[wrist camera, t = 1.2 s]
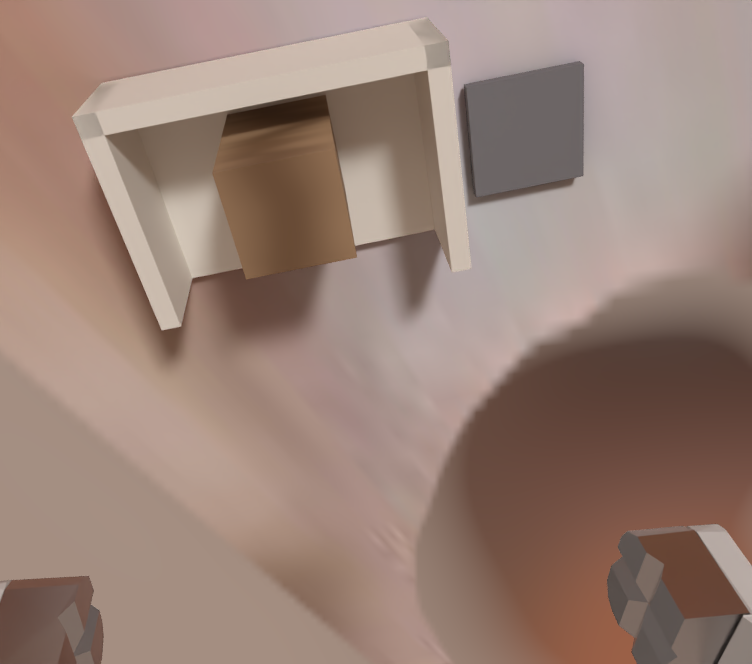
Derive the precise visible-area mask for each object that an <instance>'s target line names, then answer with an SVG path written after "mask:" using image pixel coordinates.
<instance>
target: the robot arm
mask: <svg viewBox="0 0 752 664" xmlns="http://www.w3.org/2000/svg"><path fill="white" fill-rule="evenodd" d="M618 549H619V551H620V553H621V554H622V557H621V558H620V559H619V560H618V561H616V562H615V563H614V564H613V565H612V566H611V569H610V572H609V576H608V579H607V584H608V598H609V601H610V605H611V608H612V612H613V614H614V616H615V618H616V620H617V623H618V625H619V626H620V627H621V628H623V629H624V630H625V631H626V632H628V633H629V634H630V635H632V636H633V637H634V642H633V648H632V654H633V656H634V658H635V660H636V662H637V664H752V566H751V564H750V563H749V562H748V560H747V559H746V557H745V556H744V554H743V553H742V552H741V550H740V549H739V548H738V546H737V545H736V543H735V542H734V541H733V539H732V538H731V536H730V535H729V534H728V532H727V531H726V530H725V529H724V528H723V527H721V526H720V525H718V524H709V525H698V526H687V527H684V526H678V527H667V528H656V529H646V530H635V531H627V532H626V533H625V534H624V535H623V536H622V537H621V539H620V542H619V545H618ZM93 592H94V590H93V587H92V584H91V581H90V578H89V576H79V577H62V578H61V577H60V578H44V579H43V578H42V579H26V580H25V579H24V580H7V581H0V664H101V660H102V651H103V625H102V619H101V615H100V611H99V610H98V609H96V608H95V607H93V606H92V605H91V601H92V596H93Z"/></svg>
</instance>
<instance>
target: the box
mask: <svg viewBox="0 0 752 664" xmlns="http://www.w3.org/2000/svg"><path fill="white" fill-rule="evenodd" d="M322 95H326V99H327V103H328V108H329V113H330V118H331V123H332V128H333V133H334V137H335V142H336V147H337V152H338V157H339V162H340V167H341V171H342V176H343V181H344V186H345V191H346V197H347V203H348V209H349V214H350V220H351V226H352V232H353V237H354V243H355V246H356V245H361V244H366V243H371V242H376V241H381V240H386V239H391V238H396V237H401V236H406V235H411V234H416V233H421V232H426V231H431V230H435V232H436V234H437V237H438V239H439V241H440V244H441V246H442V249H443V251H444V254H445V256H446V259H447V261H448V264H449V266H450V269H451V271H452V272H457V271H462V270H467V269H471V260H470V250H469V240H468V230H467V220H466V210H465V201H464V191H463V181H462V171H461V161H460V151H459V142H458V132H457V122H456V112H455V102H454V92H453V82H452V73H451V63H450V53H449V43H448V40H447V39H446V38H445V37H444V36H443V35H442V33H441V32H440V31H439V30H438V29H437V28H436V27H435V26H434V25H433V24H432V23H431V22H430V20H429V19H428V18H427V17H425V18H420V19H415V20H410V21H405V22H400V23H396V24H391V25H386V26H381V27H376V28H371V29H366V30H361V31H356V32H351V33H346V34H341V35H336V36H331V37H326V38H321V39H317V40H312V41H307V42H302V43H297V44H292V45H287V46H282V47H277V48H272V49H267V50H262V51H257V52H252V53H247V54H242V55H238V56H233V57H228V58H223V59H218V60H213V61H208V62H203V63H198V64H193V65H188V66H183V67H178V68H173V69H168V70H163V71H159V72H154V73H149V74H144V75H139V76H134V77H129V78H124V79H119V80H114V81H109V82H104V83H101V84H100V85H99V87H98V88H97V89H96V90H95V91H94V92H93V93H92V95H91V96H90V97H89V98H88V99H87V100H86V101H85V102H84V104H83V105H82V106H81V107H80V108H79V109H78V110H77V112H76V113H75V114H74V115H73V116H72V118H73V121H74V123H75V125H76V128H77V130H78V133H79V135H80V137H81V140H82V142H83V144H84V147H85V149H86V152H87V154H88V156H89V159H90V161H91V163H92V166H93V168H94V171H95V173H96V175H97V178H98V180H99V182H100V185H101V187H102V190H103V192H104V194H105V197H106V199H107V202H108V204H109V206H110V209H111V211H112V213H113V216H114V218H115V221H116V223H117V225H118V228H119V230H120V232H121V235H122V237H123V240H124V242H125V244H126V247H127V249H128V251H129V254H130V256H131V259H132V261H133V263H134V266H135V268H136V270H137V273H138V275H139V278H140V280H141V282H142V285H143V287H144V289H145V292H146V294H147V297H148V299H149V301H150V304H151V306H152V308H153V311H154V313H155V316H156V318H157V320H158V323H159V325H160V327H161V330H166V329H171V328H176V327H181V325H182V320H183V316H184V312H185V308H186V303H187V299H188V295H189V291H190V287H191V282H192V278H196V277H201V276H206V275H211V274H216V273H221V272H226V271H231V270H236V269H241V268H242V265H241V262H240V259H239V256H238V253H237V250H236V246H235V243H234V240H233V237H232V234H231V231H230V228H229V224H228V221H227V218H226V215H225V212H224V209H223V206H222V203H221V199H220V196H219V193H218V190H217V187H216V184H215V181H214V177H213V174H212V172H213V168H214V164H215V160H216V156H217V152H218V149H219V145H220V141H221V137H222V133H223V129H224V125H225V121H226V117H227V115H228V114H233V113H238V112H243V111H248V110H253V109H258V108H263V107H267V106H272V105H277V104H282V103H287V102H292V101H297V100H302V99H307V98H312V97H317V96H322Z"/></svg>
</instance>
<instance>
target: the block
mask: <svg viewBox="0 0 752 664" xmlns="http://www.w3.org/2000/svg"><path fill="white" fill-rule="evenodd" d="M212 174H213V177H214V181H215V184H216V187H217V190H218V193H219V196H220V199H221V203H222V206H223V209H224V212H225V215H226V218H227V221H228V224H229V228H230V231H231V234H232V237H233V240H234V243H235V246H236V250H237V253H238V256H239V259H240V262H241V265H242V268H243V271H244V275H245V278H246V279H251V278H256V277H261V276H266V275H271V274H276V273H281V272H286V271H291V270H296V269H301V268H306V267H311V266H316V265H321V264H326V263H331V262H336V261H341V260H346V259H351V258H356V257H357V255H356V249H355V243H354V237H353V232H352V226H351V220H350V214H349V209H348V203H347V197H346V191H345V186H344V181H343V176H342V171H341V167H340V162H339V157H338V152H337V147H336V142H335V137H334V133H333V128H332V123H331V118H330V113H329V108H328V103H327V99H326V95H322V96H317V97H312V98H307V99H302V100H297V101H292V102H287V103H282V104H277V105H272V106H267V107H263V108H258V109H253V110H248V111H243V112H238V113H233V114H228V115H227V117H226V121H225V125H224V129H223V133H222V137H221V141H220V145H219V149H218V152H217V156H216V160H215V164H214V168H213V172H212Z"/></svg>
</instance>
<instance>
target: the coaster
mask: <svg viewBox="0 0 752 664" xmlns="http://www.w3.org/2000/svg"><path fill="white" fill-rule="evenodd" d="M464 90H465V101H466V112H467V123H468V134H469V145H470V155H471V166H472V177H473V188H474V194H475V196H476V197H481V196H486V195H491V194H496V193H501V192H506V191H511V190H516V189H521V188H526V187H531V186H536V185H541V184H546V183H551V182H556V181H561V180H566V179H571V178H576V177H581V176H583V140H584V64H583V63H582V62H580V61H579V62H574V63H569V64H564V65H559V66H554V67H549V68H544V69H539V70H534V71H529V72H524V73H519V74H514V75H509V76H504V77H499V78H494V79H489V80H484V81H479V82H474V83H469V84H464Z"/></svg>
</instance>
